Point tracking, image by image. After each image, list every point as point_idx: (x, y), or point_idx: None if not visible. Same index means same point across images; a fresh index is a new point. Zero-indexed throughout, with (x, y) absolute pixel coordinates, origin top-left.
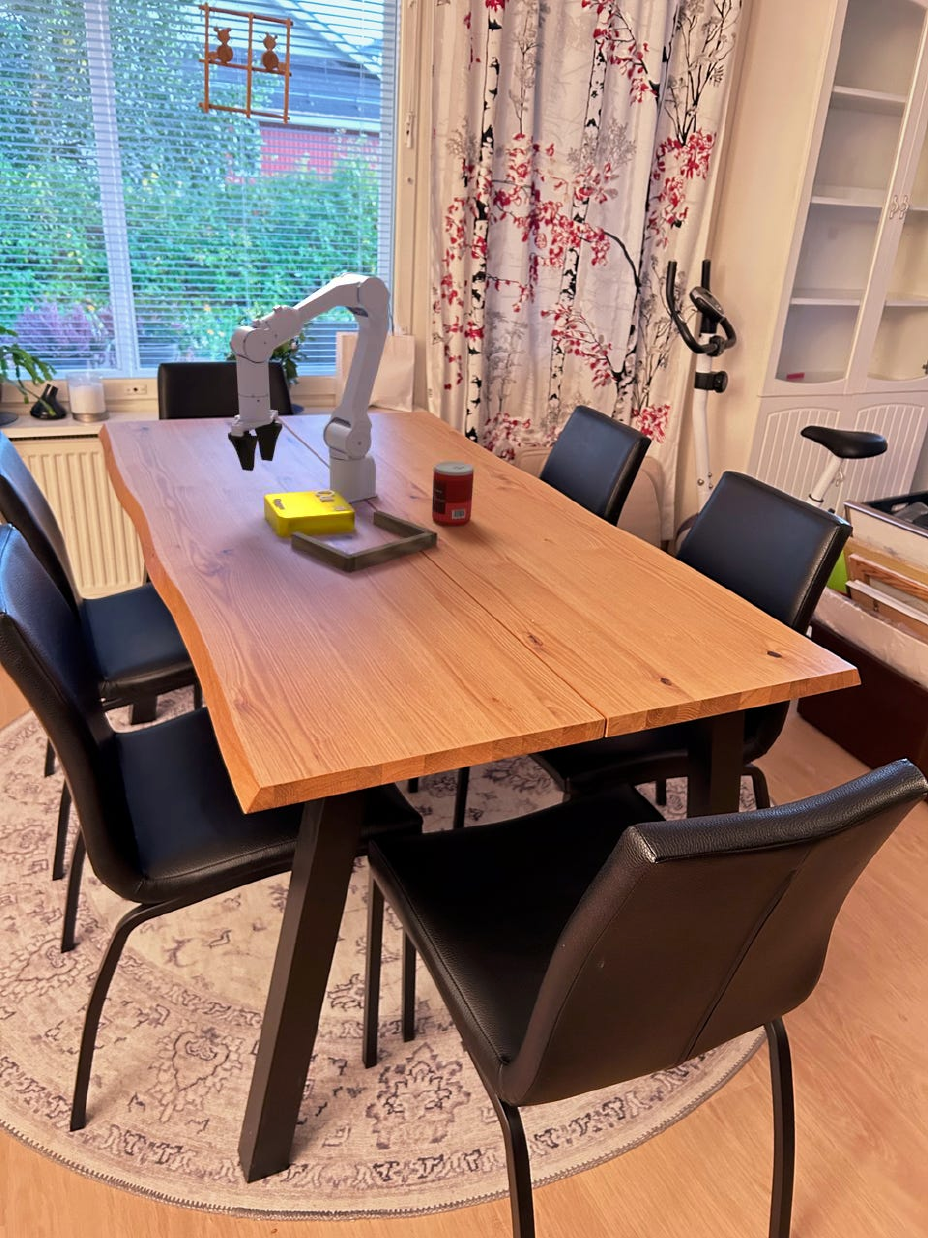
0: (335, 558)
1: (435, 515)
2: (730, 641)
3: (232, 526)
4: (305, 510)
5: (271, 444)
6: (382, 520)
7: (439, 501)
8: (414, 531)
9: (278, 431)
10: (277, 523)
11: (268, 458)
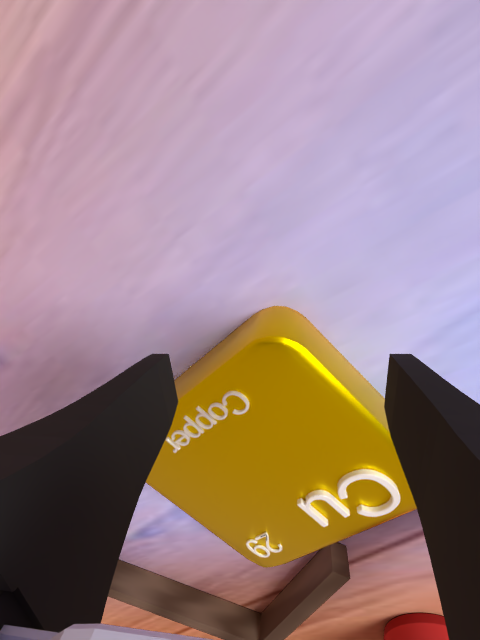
0: None
1: (395, 637)
2: None
3: (123, 279)
4: (200, 489)
5: (419, 502)
6: (316, 573)
7: None
8: (271, 623)
9: None
10: None
11: (387, 404)
